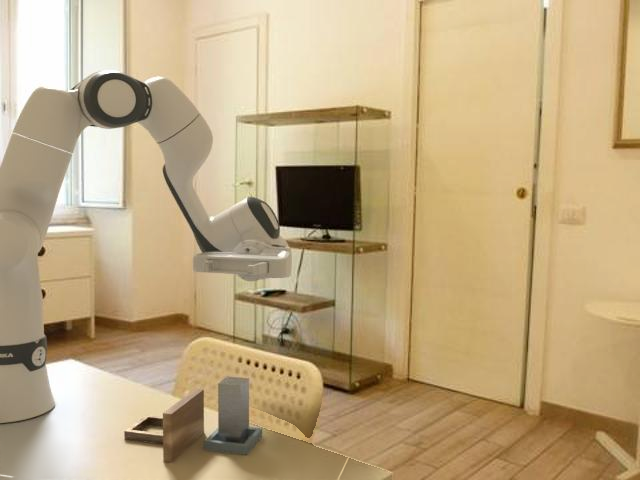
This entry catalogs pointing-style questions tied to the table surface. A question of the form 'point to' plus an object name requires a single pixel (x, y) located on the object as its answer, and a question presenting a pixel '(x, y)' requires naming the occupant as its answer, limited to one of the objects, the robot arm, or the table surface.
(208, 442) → the keeper socket
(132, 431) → the key socket
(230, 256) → the robot arm
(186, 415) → the board
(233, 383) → the block
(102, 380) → the table surface
